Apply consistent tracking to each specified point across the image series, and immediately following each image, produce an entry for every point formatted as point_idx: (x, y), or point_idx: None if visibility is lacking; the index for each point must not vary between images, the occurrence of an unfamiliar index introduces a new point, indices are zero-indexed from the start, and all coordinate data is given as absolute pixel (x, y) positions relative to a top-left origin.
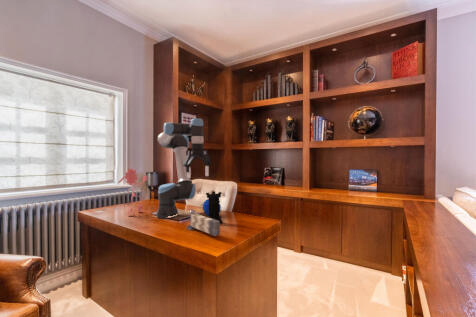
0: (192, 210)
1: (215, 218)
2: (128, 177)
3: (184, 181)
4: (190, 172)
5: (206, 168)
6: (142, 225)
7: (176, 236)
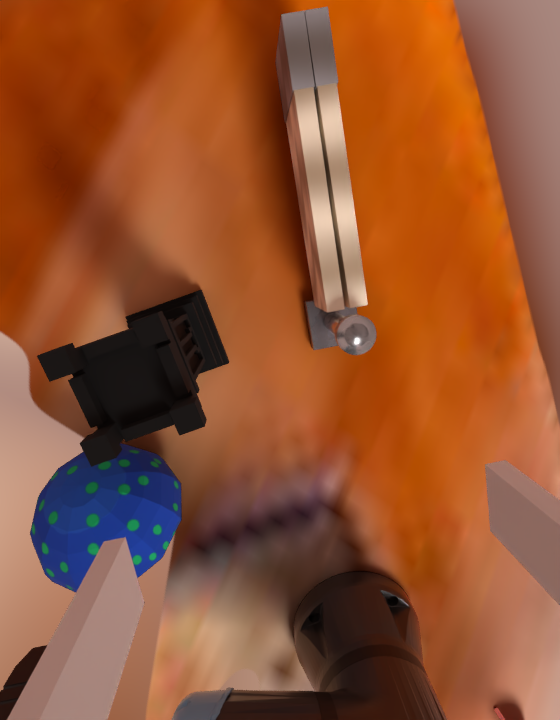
0: (353, 335)
1: (181, 308)
2: None
3: None
4: (551, 516)
5: (80, 709)
6: None
7: (450, 249)
